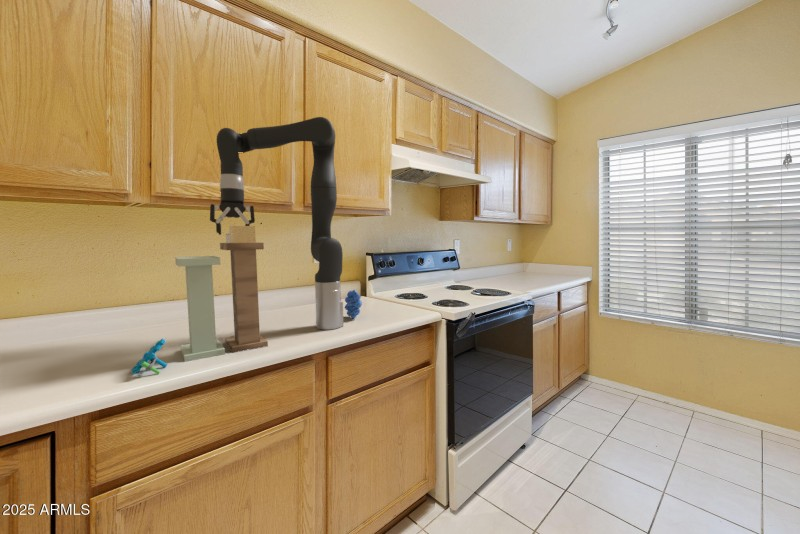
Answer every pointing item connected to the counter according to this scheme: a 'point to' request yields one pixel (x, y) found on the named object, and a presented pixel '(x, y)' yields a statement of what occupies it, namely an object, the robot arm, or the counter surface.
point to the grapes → (353, 303)
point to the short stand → (200, 307)
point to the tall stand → (244, 296)
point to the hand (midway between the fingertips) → (233, 234)
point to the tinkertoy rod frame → (152, 357)
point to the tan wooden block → (241, 234)
